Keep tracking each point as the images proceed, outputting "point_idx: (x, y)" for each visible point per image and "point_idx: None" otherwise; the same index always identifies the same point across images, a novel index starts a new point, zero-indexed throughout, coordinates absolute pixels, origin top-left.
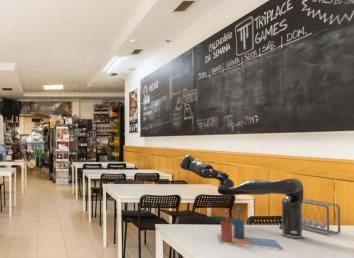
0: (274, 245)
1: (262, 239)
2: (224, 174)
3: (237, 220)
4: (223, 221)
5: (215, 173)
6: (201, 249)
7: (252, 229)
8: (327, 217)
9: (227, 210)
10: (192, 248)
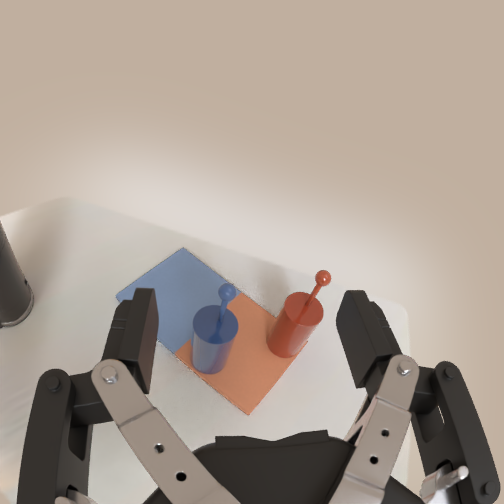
0: (177, 265)
1: None
2: (144, 344)
3: (234, 315)
4: (308, 319)
5: (370, 306)
6: None
7: (26, 422)
8: None
9: (324, 270)
10: (401, 328)
